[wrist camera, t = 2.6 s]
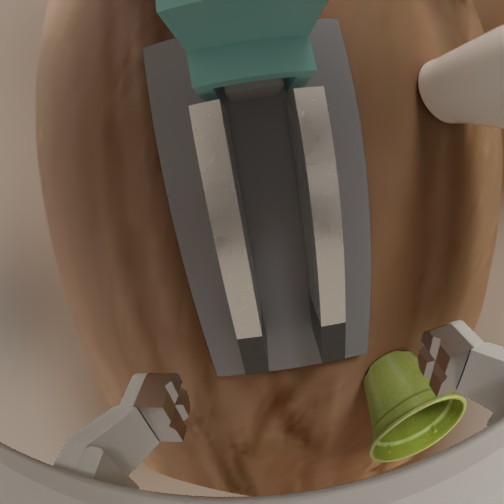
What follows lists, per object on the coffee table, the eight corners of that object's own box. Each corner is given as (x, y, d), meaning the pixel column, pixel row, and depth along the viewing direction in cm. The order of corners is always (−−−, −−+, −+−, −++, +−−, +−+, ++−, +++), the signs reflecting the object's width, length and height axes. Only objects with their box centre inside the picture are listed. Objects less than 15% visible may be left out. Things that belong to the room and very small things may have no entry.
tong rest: (150, 53, 16) (125, 33, 11) (332, 26, 15) (350, 0, 11) (219, 365, 24) (214, 402, 20) (362, 343, 24) (378, 376, 19)
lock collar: (201, 61, 14) (152, -13, 5) (290, 48, 14) (325, -35, 5) (208, 105, 15) (160, 59, 6) (299, 91, 15) (349, 35, 6)
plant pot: (435, 368, 26) (469, 420, 17) (366, 412, 27) (387, 470, 19) (415, 318, 23) (462, 378, 15) (331, 372, 25) (353, 445, 17)
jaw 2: (284, 101, 16) (293, 88, 12) (308, 99, 16) (323, 85, 12) (312, 328, 21) (322, 363, 17) (331, 325, 21) (344, 358, 17)
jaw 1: (202, 115, 16) (188, 105, 12) (226, 110, 16) (219, 99, 12) (246, 338, 21) (245, 374, 18) (266, 335, 21) (269, 371, 17)
